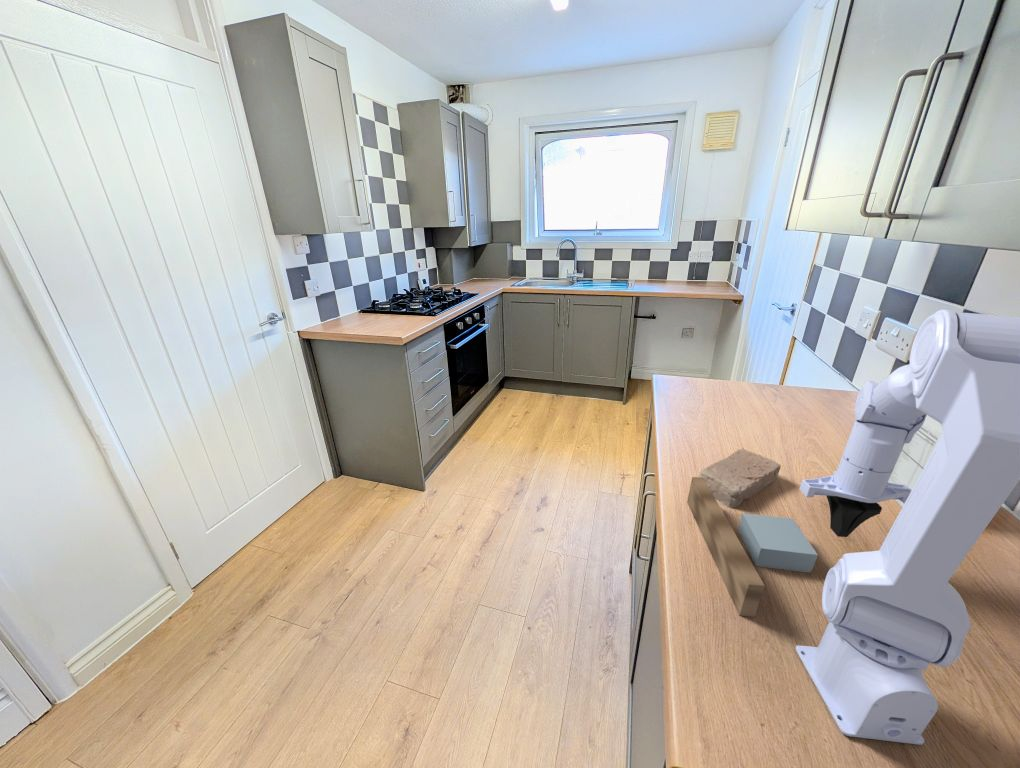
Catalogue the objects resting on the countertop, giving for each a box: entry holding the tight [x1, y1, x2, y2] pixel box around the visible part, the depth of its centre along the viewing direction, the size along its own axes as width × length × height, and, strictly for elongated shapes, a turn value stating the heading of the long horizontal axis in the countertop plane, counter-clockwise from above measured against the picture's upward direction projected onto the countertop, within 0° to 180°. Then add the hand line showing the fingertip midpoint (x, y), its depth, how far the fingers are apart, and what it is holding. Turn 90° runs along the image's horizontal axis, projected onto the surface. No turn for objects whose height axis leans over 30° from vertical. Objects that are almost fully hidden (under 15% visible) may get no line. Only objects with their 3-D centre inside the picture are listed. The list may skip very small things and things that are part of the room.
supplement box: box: [888, 415, 943, 508], centre depth 72 cm, size 10×9×17 cm
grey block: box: [737, 512, 819, 574], centre depth 65 cm, size 8×8×4 cm
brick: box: [698, 447, 781, 509], centre depth 81 cm, size 17×8×5 cm, turn 122°
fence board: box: [686, 476, 765, 618], centre depth 64 cm, size 24×2×6 cm, turn 174°
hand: (838, 532), depth 63 cm, fingers closed
